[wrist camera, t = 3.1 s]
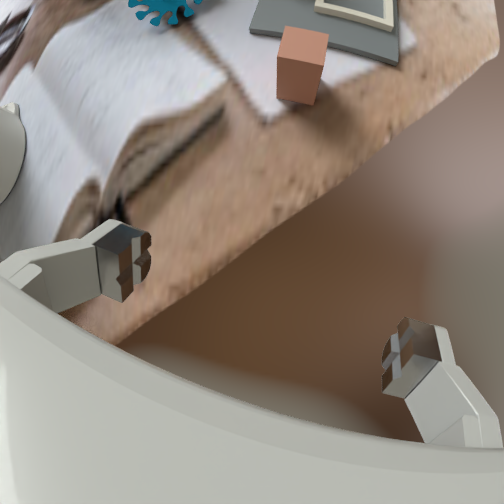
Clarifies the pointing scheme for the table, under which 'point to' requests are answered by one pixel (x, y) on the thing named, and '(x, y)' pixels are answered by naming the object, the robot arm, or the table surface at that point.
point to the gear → (162, 9)
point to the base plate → (336, 23)
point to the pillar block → (300, 64)
